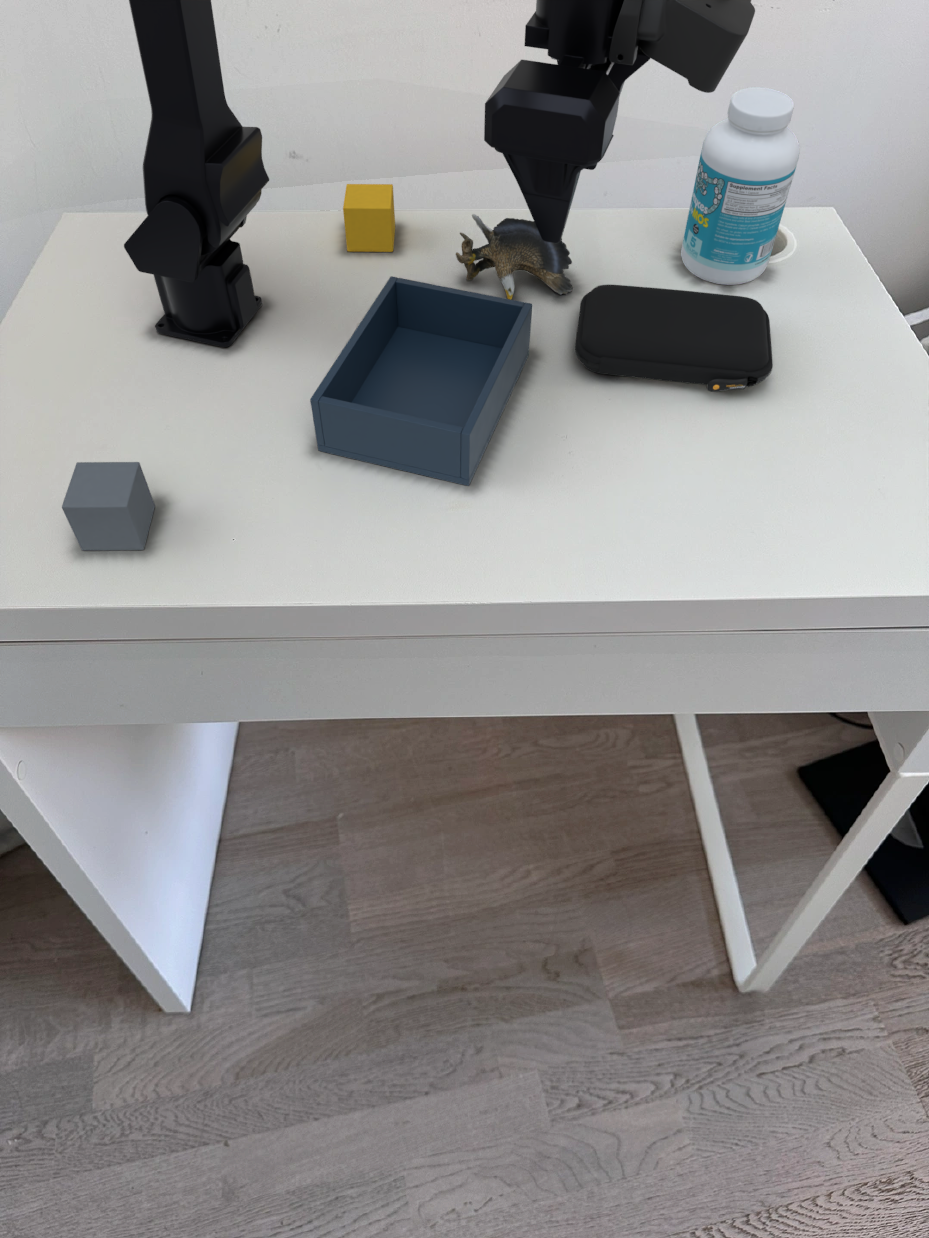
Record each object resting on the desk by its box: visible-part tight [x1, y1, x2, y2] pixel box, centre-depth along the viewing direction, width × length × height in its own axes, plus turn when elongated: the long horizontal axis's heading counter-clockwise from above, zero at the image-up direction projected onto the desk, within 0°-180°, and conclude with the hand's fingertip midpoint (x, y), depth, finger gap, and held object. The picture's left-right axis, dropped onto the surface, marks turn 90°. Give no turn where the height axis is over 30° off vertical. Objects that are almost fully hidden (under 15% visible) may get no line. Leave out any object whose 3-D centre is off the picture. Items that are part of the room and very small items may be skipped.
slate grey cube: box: [61, 461, 156, 551], centre depth 60 cm, size 4×4×4 cm
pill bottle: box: [680, 86, 801, 286], centre depth 75 cm, size 8×7×14 cm
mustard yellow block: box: [342, 183, 396, 253], centre depth 81 cm, size 4×4×4 cm
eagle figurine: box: [455, 213, 574, 300], centre depth 76 cm, size 8×7×9 cm
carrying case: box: [574, 283, 774, 393], centre depth 72 cm, size 11×3×15 cm
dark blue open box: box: [309, 276, 533, 487], centre depth 68 cm, size 11×15×5 cm
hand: (570, 203), depth 59 cm, fingers open, 9 cm apart
